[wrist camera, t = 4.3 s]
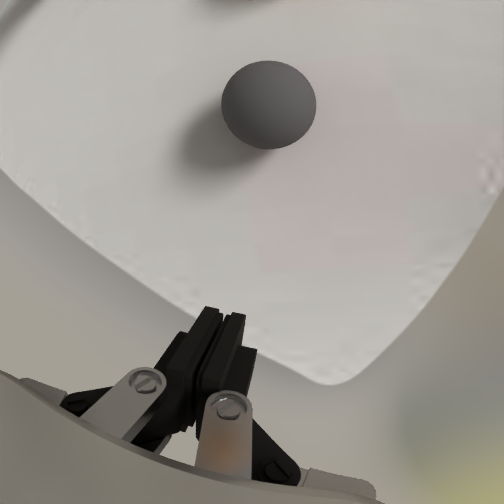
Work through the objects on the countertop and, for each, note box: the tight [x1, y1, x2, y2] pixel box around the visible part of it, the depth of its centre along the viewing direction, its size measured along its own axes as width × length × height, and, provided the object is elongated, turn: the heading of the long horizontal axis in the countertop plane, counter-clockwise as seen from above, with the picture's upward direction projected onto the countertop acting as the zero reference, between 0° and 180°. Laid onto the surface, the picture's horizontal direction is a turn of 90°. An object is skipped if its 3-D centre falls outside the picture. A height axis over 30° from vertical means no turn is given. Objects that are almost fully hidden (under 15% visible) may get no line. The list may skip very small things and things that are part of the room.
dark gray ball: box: [222, 61, 316, 149], centre depth 15 cm, size 6×6×6 cm
